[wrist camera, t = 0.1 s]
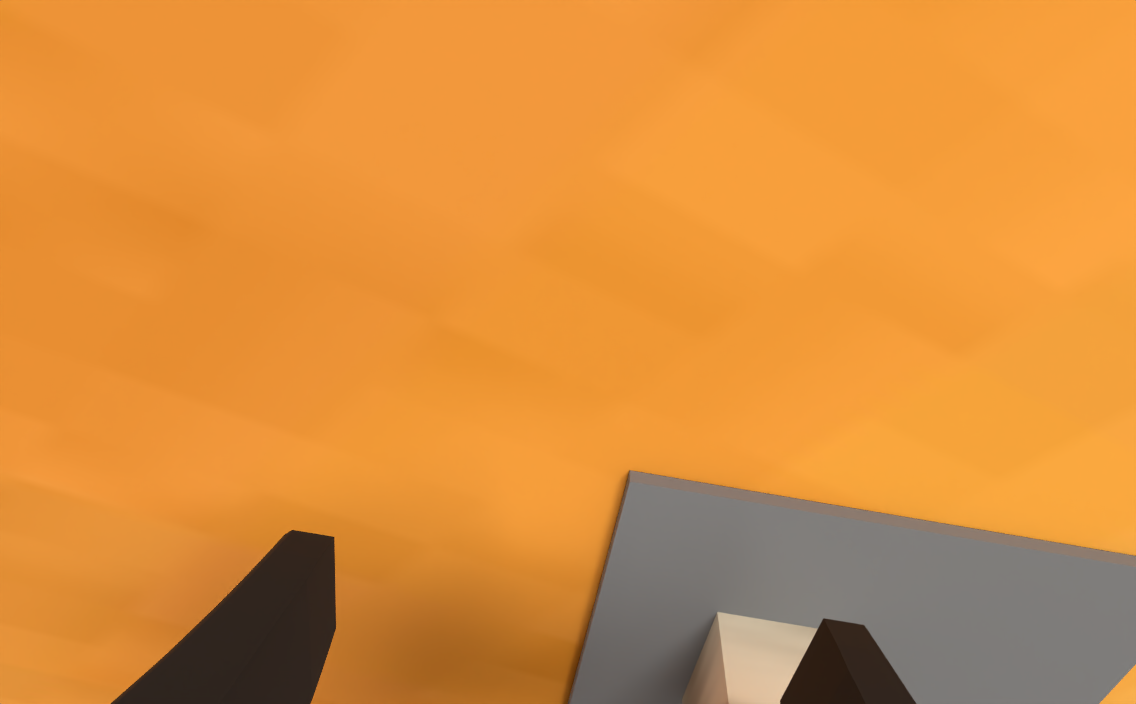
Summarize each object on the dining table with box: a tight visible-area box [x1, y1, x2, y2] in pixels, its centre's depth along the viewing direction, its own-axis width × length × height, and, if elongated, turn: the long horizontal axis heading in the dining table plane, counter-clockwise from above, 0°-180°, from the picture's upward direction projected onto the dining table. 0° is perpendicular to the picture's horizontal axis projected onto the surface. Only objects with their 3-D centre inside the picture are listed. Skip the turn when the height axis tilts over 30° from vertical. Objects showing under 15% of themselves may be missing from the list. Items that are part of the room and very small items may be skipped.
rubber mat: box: [568, 471, 1136, 704], centre depth 26 cm, size 15×18×1 cm
